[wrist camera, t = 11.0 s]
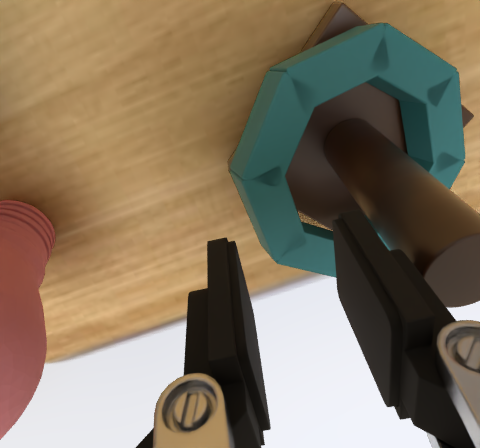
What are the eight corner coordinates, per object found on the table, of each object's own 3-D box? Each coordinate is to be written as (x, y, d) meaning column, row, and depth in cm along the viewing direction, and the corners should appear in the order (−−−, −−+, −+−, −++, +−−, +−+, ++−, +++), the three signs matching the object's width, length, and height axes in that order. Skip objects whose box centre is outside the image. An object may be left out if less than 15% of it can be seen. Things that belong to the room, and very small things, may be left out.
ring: (297, -13, 13) (321, -22, 11) (468, 94, 17) (502, 97, 15) (203, 231, 15) (213, 249, 14) (371, 274, 19) (392, 291, 18)
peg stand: (333, 1, 15) (513, 18, 6) (460, 108, 17) (705, 224, 9) (226, 162, 18) (245, 320, 9) (347, 231, 21) (447, 401, 12)
